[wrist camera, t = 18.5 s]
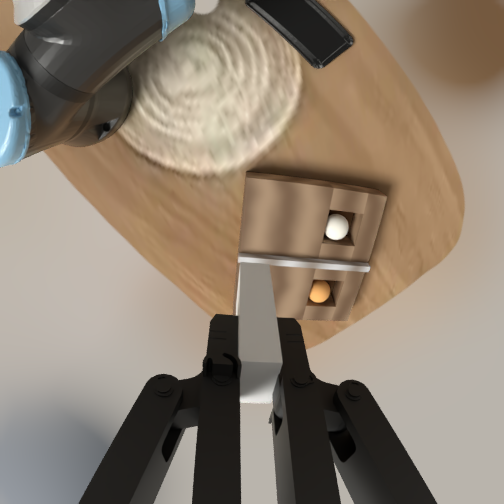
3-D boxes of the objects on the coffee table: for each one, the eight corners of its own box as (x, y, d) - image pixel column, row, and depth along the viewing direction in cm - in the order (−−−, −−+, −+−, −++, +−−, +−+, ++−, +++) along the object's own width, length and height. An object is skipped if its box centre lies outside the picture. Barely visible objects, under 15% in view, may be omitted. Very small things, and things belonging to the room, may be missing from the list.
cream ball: (324, 232, 48) (318, 239, 44) (328, 208, 46) (322, 214, 43) (348, 237, 46) (343, 246, 43) (352, 214, 44) (348, 220, 41)
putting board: (233, 303, 54) (232, 320, 49) (246, 171, 42) (246, 179, 38) (342, 308, 55) (349, 325, 51) (378, 189, 44) (390, 199, 40)
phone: (318, 71, 34) (241, 0, 29) (316, 71, 35) (241, 2, 30) (356, 41, 32) (282, -28, 26) (354, 42, 33) (281, -26, 27)
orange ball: (313, 292, 54) (301, 300, 51) (317, 273, 52) (304, 279, 49) (331, 301, 51) (319, 309, 48) (336, 281, 50) (324, 288, 47)
